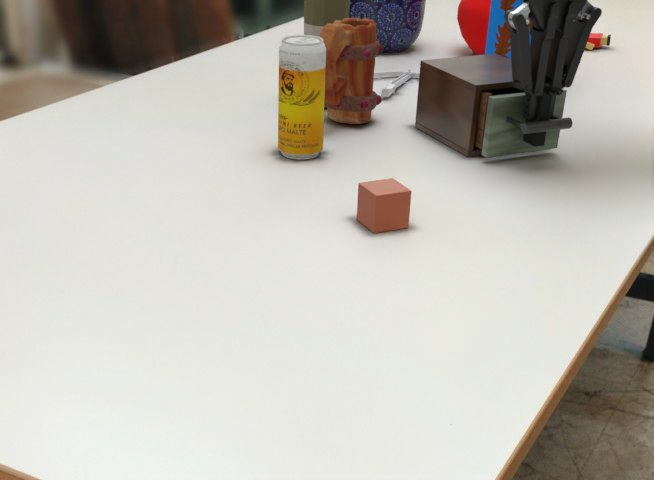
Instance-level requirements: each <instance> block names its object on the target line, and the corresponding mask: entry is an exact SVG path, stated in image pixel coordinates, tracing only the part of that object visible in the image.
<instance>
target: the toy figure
mask: <svg viewBox="0 0 654 480" xmlns="http://www.w3.org/2000/svg"><path fill="white" fill-rule="evenodd" d="M611 37H612V34H608V35H604V33H600V32H597V33H596V32H594V33H593V32H591V33H590V36H589V38H588V41H587V44H586V47H585V49H587V50H589V51H593V49H594V48H600V47H601V46H607V47H609V46H610V45H611V40H612V39H611Z"/></svg>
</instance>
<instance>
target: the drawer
mask: <svg viewBox="0 0 654 480" xmlns="http://www.w3.org/2000/svg"><path fill="white" fill-rule="evenodd" d="M562 90H564V91H563V93H562V94H561V95H556V101H555V107H554V113H553V115H552V118H549V119H548V120H543V121H535V122H527V123H525V122H526V118H524V117H523V107H524V100H525V92H524V91H523V90H520V89H518V88H516V87H511V88H502V89H493V90H483V91H480V97H479V105H478V114H477V122H476V130H475V139H474V146H476V147H478V148H480V149H482V154H481V155H480V156H482V157H484V158H493V157H501V156H507V155H508V156H509V155H515V154H523V153H529V152H537V151H545V150H552V149H558V147H559V139H560V135H561V134H560V133H561V130H568V129H571V128H572V127H573V119H572V118H571V117H570V116H569V117H563V116H564V111H565V103H566V99H567V91H568V90H567V89H564V88H562ZM538 132H546V138H545V144H544V146H536V147H534V146H532V145H530V144H528V143H526V142H524V141H523V135H524V134H530V133H538Z"/></svg>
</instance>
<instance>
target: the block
mask: <svg viewBox="0 0 654 480" xmlns="http://www.w3.org/2000/svg"><path fill="white" fill-rule="evenodd" d="M411 200H412V190H411V189H410V188H408V187H407V186H405V185H404V184H402V182H400V181H398V180H397V179H395V178H393V177H391V178H384V179H383V178H382V179H377V180H370V181H368V180H367V181H363V182H362V181H361V182H358V188H357V204H356V220H357V221H358V222H359V223H361V224H362V225H363V226H364V227H366V228H367V229H368V230H369V231H370V232H372V233H373V234H378V233H384V232H389V231H390V232H391V231H396V230H403V229H408V228H409V227H410V226H409V224H410V214H411V202H412V201H411Z"/></svg>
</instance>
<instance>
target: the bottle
mask: <svg viewBox="0 0 654 480" xmlns="http://www.w3.org/2000/svg"><path fill="white" fill-rule="evenodd" d="M349 9H350V0H303V35H312V36H318V37H320V34H321V32H322V29H323V28H324V27H325V25H326V24H328V23H331V24H333V22H334V21H335V20H341V21H342V20H343V19H344V18H349ZM324 109H327V107H326V106H325V105H324Z"/></svg>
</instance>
